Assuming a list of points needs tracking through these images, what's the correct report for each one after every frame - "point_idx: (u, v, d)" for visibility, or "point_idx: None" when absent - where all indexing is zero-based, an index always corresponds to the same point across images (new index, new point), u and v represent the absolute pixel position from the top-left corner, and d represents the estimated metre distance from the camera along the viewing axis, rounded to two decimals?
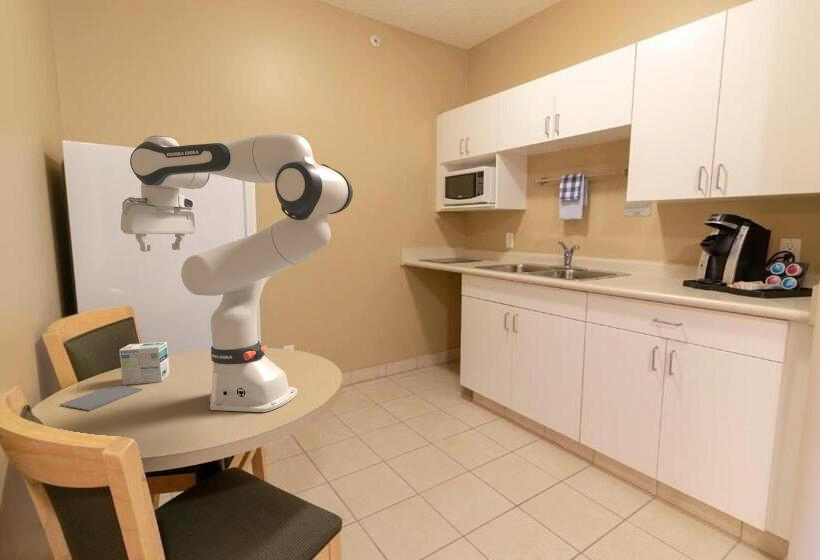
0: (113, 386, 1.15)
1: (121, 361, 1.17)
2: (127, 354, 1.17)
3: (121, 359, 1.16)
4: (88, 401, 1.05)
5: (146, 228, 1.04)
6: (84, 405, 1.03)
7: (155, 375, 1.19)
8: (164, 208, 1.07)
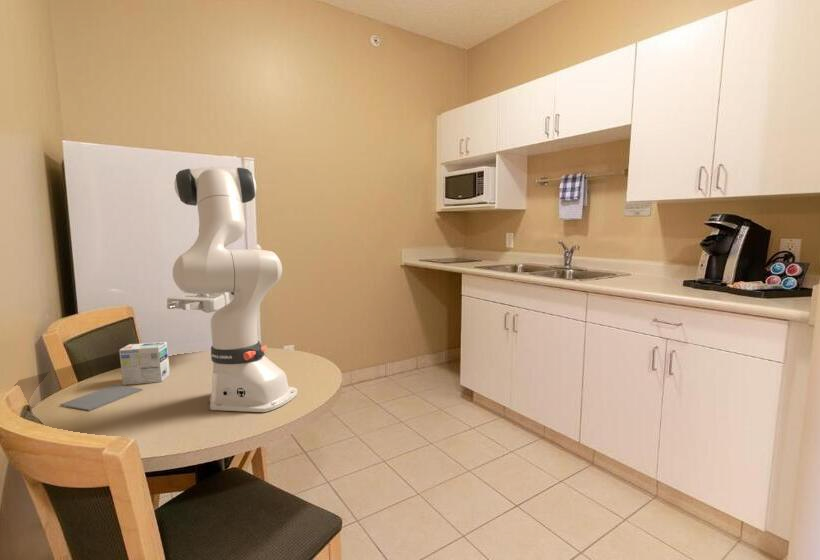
0: (113, 386, 1.15)
1: (121, 361, 1.17)
2: (127, 354, 1.17)
3: (121, 359, 1.16)
4: (88, 401, 1.05)
5: (178, 297, 1.38)
6: (84, 405, 1.03)
7: (155, 375, 1.19)
8: None
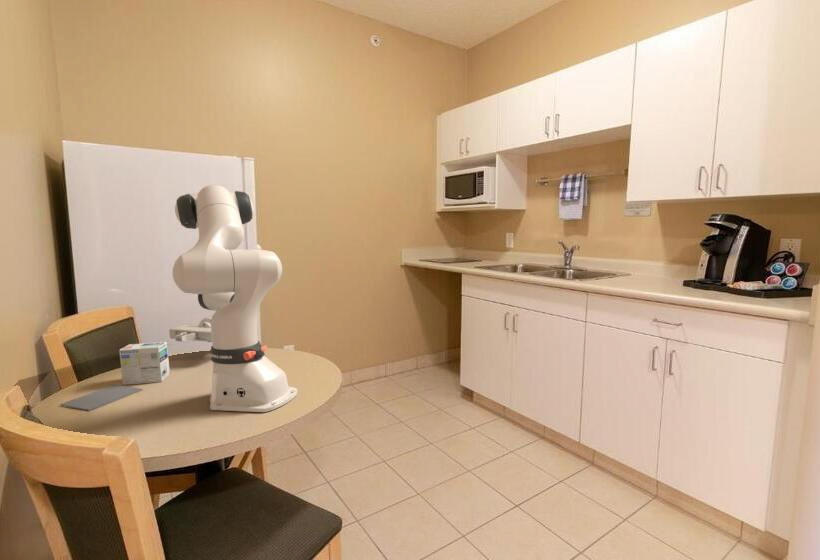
0: (113, 386, 1.15)
1: (121, 361, 1.17)
2: (127, 354, 1.17)
3: (121, 359, 1.16)
4: (88, 401, 1.05)
5: (181, 328, 1.39)
6: (84, 405, 1.03)
7: (155, 375, 1.19)
8: (203, 322, 1.42)
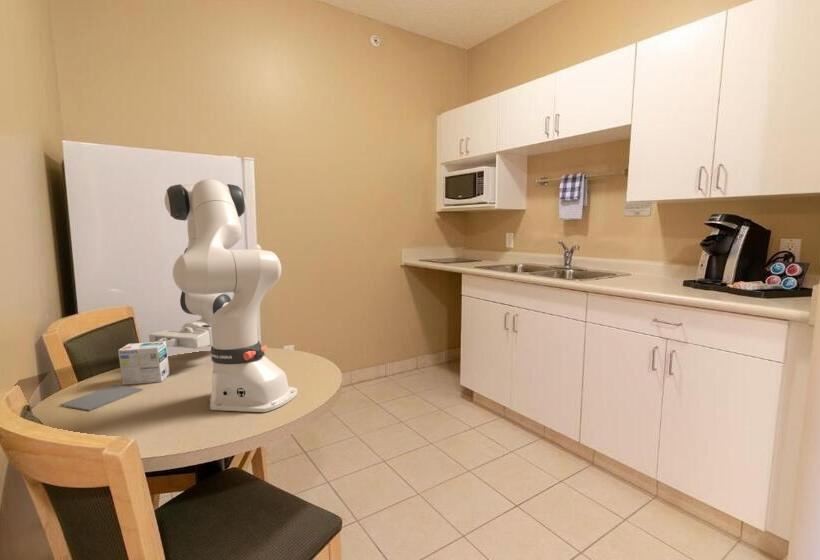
0: (113, 386, 1.15)
1: (120, 361, 1.16)
2: (126, 354, 1.16)
3: (120, 359, 1.16)
4: (88, 401, 1.05)
5: (161, 333, 1.32)
6: (84, 405, 1.03)
7: (155, 375, 1.19)
8: (185, 327, 1.35)
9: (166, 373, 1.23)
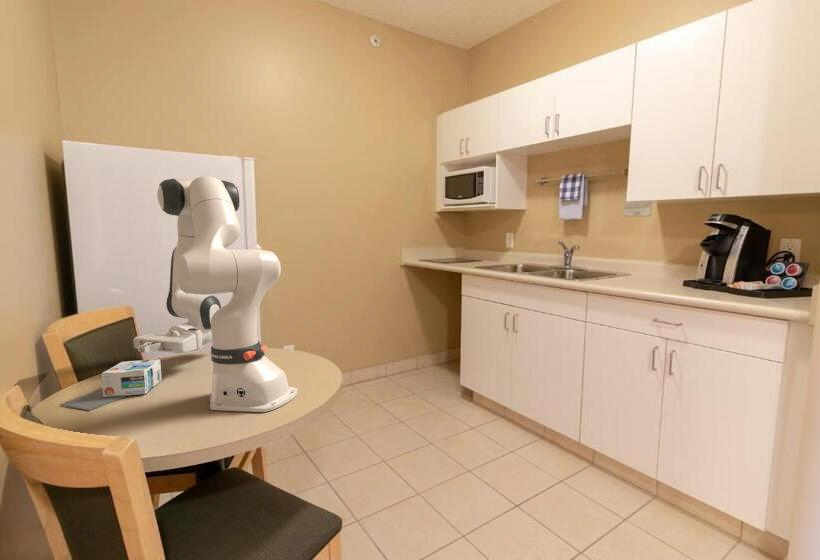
0: None
1: None
2: None
3: None
4: (88, 401, 1.05)
5: (146, 337, 1.27)
6: (84, 405, 1.03)
7: None
8: (171, 331, 1.30)
9: (159, 369, 1.18)
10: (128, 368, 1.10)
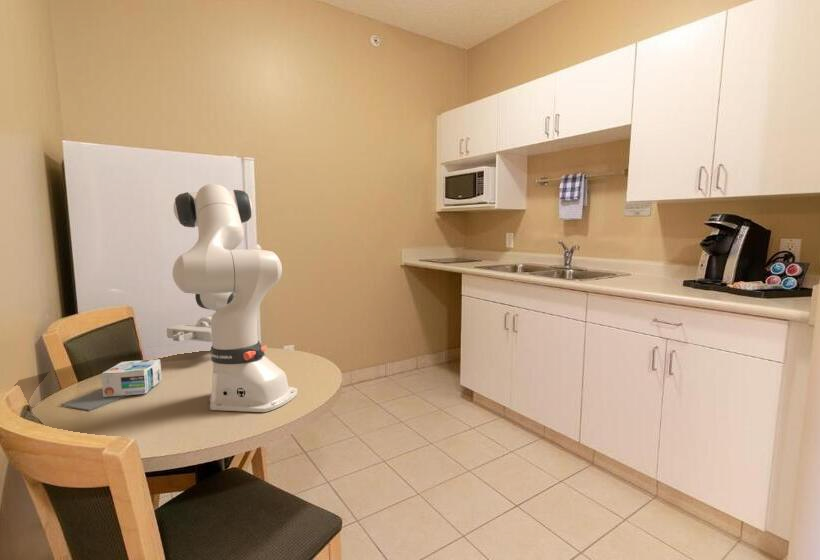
0: None
1: None
2: None
3: None
4: (88, 401, 1.05)
5: (178, 327, 1.38)
6: (84, 405, 1.03)
7: None
8: (200, 322, 1.42)
9: (159, 369, 1.18)
10: (128, 368, 1.10)
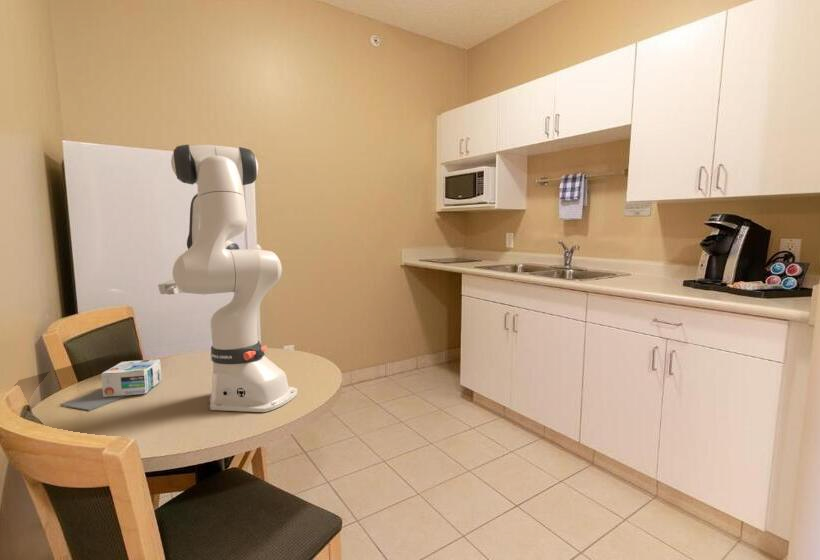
0: None
1: None
2: None
3: None
4: (88, 401, 1.05)
5: (170, 282, 1.33)
6: (84, 405, 1.03)
7: None
8: None
9: (159, 369, 1.18)
10: (128, 368, 1.10)
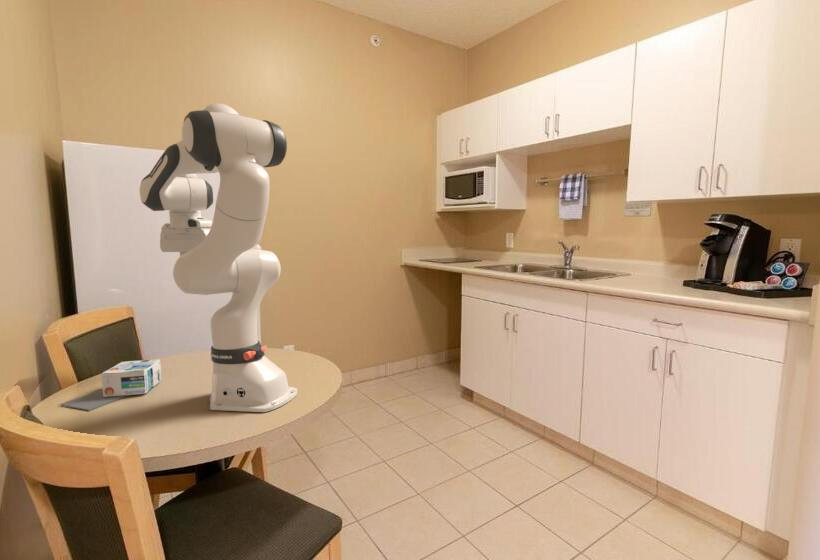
0: None
1: None
2: None
3: None
4: (88, 401, 1.05)
5: (169, 247, 1.28)
6: (84, 405, 1.03)
7: None
8: (176, 230, 1.26)
9: (159, 369, 1.18)
10: (128, 368, 1.10)
